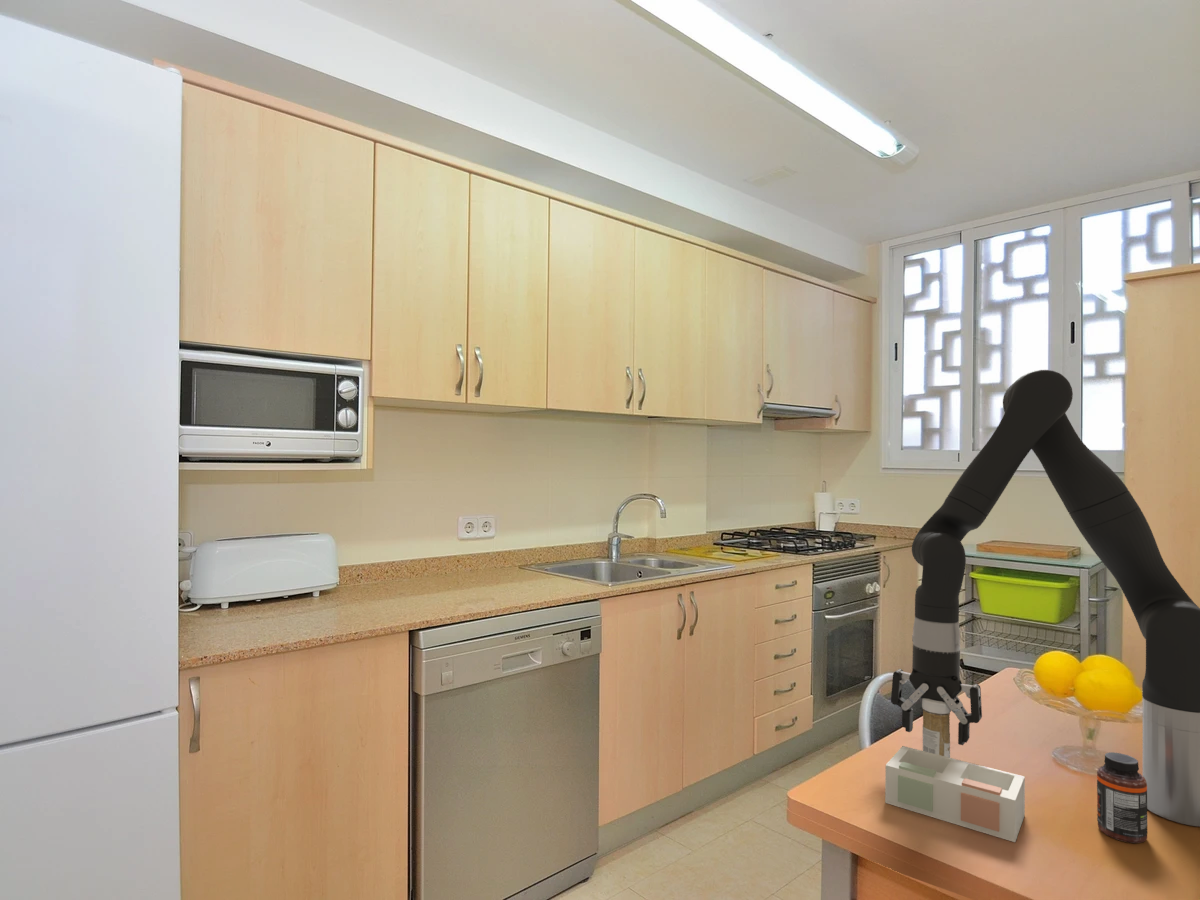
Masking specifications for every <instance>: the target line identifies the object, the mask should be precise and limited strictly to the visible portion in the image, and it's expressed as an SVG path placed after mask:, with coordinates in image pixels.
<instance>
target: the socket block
mask: <svg viewBox="0 0 1200 900" xmlns="http://www.w3.org/2000/svg"><path fill="white" fill-rule="evenodd" d="M1025 777H1026V776H1024V775H1020V774H1017V773H1013V772H1008V771H1005V770H1000V769H996V768H993V767H988V766H984V765H980V764H976V763H973V762H968V761H964V760H961V759H956V758H953V757H950V758H949V757H945V756H941V755H937V754H933V753H929V752H925V751H923V750H921V749H917V748H913V747H908V746H905V745H902V746H901V747H900V748H899V749H898V750H897V752H896V753H895V754H894V755H893V756H892V757H891V758H890V760H889V761H888V762H886V764H885V780H884V781H885V782H884V783H885V789H884V790H885V792H884V794H885V796H884V797H885V800H884V801H885V802H884V803H885V804H888V805H892V806H895V807H898V808H901V809H905V810H907V811H911V812H915V813H917V814H921V815H925V816H927V817H930V818H933V819H937V820H941V821H943V822H947V823H949V824H953V825H957V826H961V827H964V828H966V829H970V830H974V831H977V832H980V833H982V834H983V833H984V834H987V835H988V836H989V835H990V836H993V837H997V838H999V839H1003V840H1007V841H1010V842H1013V843H1016V841H1017V839H1018V835H1019V832H1020V830H1021V826H1022V825H1023V821H1024V818H1025V816H1026V815H1025V813H1026V812H1025V811H1026V809H1025V808H1026V807H1025V806H1026V804H1025V803H1026V802H1025V801H1026V795H1025V794H1026V791H1025V787H1026V786H1025V783H1026V780H1025Z"/></svg>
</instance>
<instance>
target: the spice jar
mask: <svg viewBox="0 0 1200 900" xmlns="http://www.w3.org/2000/svg"><path fill="white" fill-rule="evenodd" d="M921 708H922V751H925V752H929V753H933V754H937V755H941V756H945V757H949V758H951V732H950V727H951V726H950V725H951V724H950V723H951V722H950V715H951V712H952V711H951V709H950V708H949V707H948V705H947V704H946V702H942V701H936V700H931V699H926V698H923V699H921Z"/></svg>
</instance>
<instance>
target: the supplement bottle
mask: <svg viewBox="0 0 1200 900" xmlns="http://www.w3.org/2000/svg"><path fill="white" fill-rule="evenodd" d="M1103 763H1104V764H1103V765H1102V766H1100V767H1098V769H1097V772H1096V778H1097V779H1096V795H1097V796H1096V797H1097V798H1096V799H1097V801H1096V802H1097V805H1096V806H1097V807H1096V808H1097V809H1096V811H1097V813H1096V816H1097V818H1096V820H1097V826H1098V828H1099V830H1100V831H1101V832H1102V833H1103V834H1105V835H1107V836H1108V837H1110V838H1113V839H1115V840H1118V841H1121V842H1124V843H1129V844H1139V843H1144V842H1145V841H1147V839H1148V809H1147V782H1146V779H1145V778H1144V777H1143V774H1141V773H1139V770H1140V768H1139V766H1140V765H1139V760H1137V758H1135V757H1133V756H1131V755H1128V754H1124V753H1120V752H1114V751H1113V752H1111V751H1110V752H1106V753H1105V754H1104V762H1103Z"/></svg>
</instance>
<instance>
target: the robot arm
mask: <svg viewBox="0 0 1200 900" xmlns="http://www.w3.org/2000/svg"><path fill="white" fill-rule="evenodd" d="M1073 396H1074V394H1073V387H1072V385H1071V382H1070V381H1069V380H1068V378H1067V377H1065V376H1064V375H1063V374H1061V373H1060V372H1058V371H1055V370H1052V369H1037V370H1034V371H1033V370H1032V371H1030V372H1027V373H1024V374H1023V375H1022V376H1020V377H1019V378H1018V379H1017V380H1015V382H1013V383H1012V384H1011V385H1010V386H1009V387H1008V388H1007V389H1006V391H1005V392H1004V394H1003V397H1002V408H1003V411H1004V414H1003V416H1002V418H1001V420H1000V422H999V423H998V425H997V427H996V428H995V430H994V432H993V434H992V435H991V436H990V438H989V439H988V441H987V442H986V443H985V444H984V446H983V447H982V448H981V450H980V451H979V452H978V453H977V455H976V456H975V457H974V458H973V459H972V460H971V462H970V464H969V465H968V466H967V467H966V468H965V470H964V471H963V473H962V474H961V475H960V476H959V477H958V479H957V481H956V482H955V484H954V485H953V487H952V488H951V490H950V492H949V493H948V494H947V497H945V499H944V501H943V503H942V505H941V506H940V507H939V508H938V509H937V510H936V511H935V512H934V513H933V514H932V516H930V518H928V520H927V521H926V522H925V523H924V524H923V525H922V527H921V528H920V529H919V530H918V532H917V533H916V535H915V536H914V538H913V541H912V544H911V553H912V557H913V559H914V561H915V562H916V563H917V564H918V565H920V566H922V576H921V584H920V585H919V586H918V587H917V588H916V589H915V597H914V620H913V627H912V635H911V636H912V637H911V639H912V660H911V661H912V667H911V668H912V670H911V672H906V671H904V670H903V669H901V668H898V669H896V670H895V671H894V672H893V674H892V683H891V694H890V698H891V699H890V703H891V704H892V705H894V706H895V705H896V706H898V707H899V708H900V709H901V714H902V715H901V725H902V727H903V728H904V729H905V732H907V733H911V732H912V731H913V728H914V709H913V708H912V706H913V705H914V704H915V703H917V701H918V700H919V699H921V700H922V699H923V698H926V699H931V700H936V701H942V702H946V704H947V705H948V707H949V708H950V709H951V712H952V713H953V714H954V715H955V716H956V718H957V719H958V720H959V722H958V733H957V734H958V735H957V737H958V738H957V743H958V745H959V746H964V744H967V743H968V742H969V739H970V733H971V732H970V730H971V729H970V724H972V723H974V724H978V723H979V722H980V721H981V719H982V717H983V710H982V691H981V689H982V688H981V685H980V684H978V683H974V684H966V683H965V684H964V683H962V680H961V677H960V675H961V630H960V592H961V589H962V587H963V582H964V576H965V572H966V563H967V558H966V551H965V547H964V545H963V544H962V541H963V539H964V538H965V537H966V535H968V534H969V532H971V531H974V530H977V529H978V528H979V527H981V525H982V524H983V523H984V522H985V520H987V517H988V516H989V514H990V513H991V511H992V510H993V508H994V506H995V505H996V503H997V502H998V500H999V499H1000V497H1001V496H1002V494H1003V493H1004V492H1005V489H1006V488H1007V486H1008V484H1009V483H1010V481H1011V480H1012V478H1013V477H1014V474H1015V473H1016V472H1017V471H1018V469H1019V468H1020V466H1021V464H1022V462H1024V460H1025V458H1026V457H1027V456H1028V454H1029V453H1030V452H1031V450H1032V452H1033V453H1034V455H1035V456H1036V457H1037V459H1038V460H1039V462H1040V464H1041V466H1042V468H1043V470H1044V471H1045V473H1046V476H1047V478H1048V479H1049V481H1050V483H1051V484H1052V486H1053V488H1054V489H1055V492H1056V493H1057V495H1058V497H1059V498H1060V500H1061V501H1062V504H1063V506H1064V507H1065V509H1066V512H1067V513H1068V515H1069V516H1070V518H1071V519H1072V521H1073V522H1074V525H1075V526H1076V528H1077V529H1078V531H1079V533H1080V535H1082V537H1083V538H1084V540H1085V542H1087V544H1088V545H1089V546H1090V548H1091V549H1092V551H1093V552H1094V554H1095V555H1096V556H1097V557H1098V558H1099V560H1100V561H1101V562H1102V564H1103V565H1104V566H1105V567H1106V568H1107V570H1108V571H1109V572H1110V573H1111V575H1112V576H1113V578H1114V579H1115V581H1116V582H1117V584H1118V585H1119V588H1120V589H1121V591H1122V592H1123V593H1122V594H1123V595H1124V597H1125V599H1126V601H1127V603H1128V605H1129V607H1130V610H1131V611H1132V614H1133V617H1134V618H1135V621H1136V623H1137V625H1138V628H1139V630H1140V632H1141V635H1142V637H1143V638H1144V639H1145V672H1144V678H1143V680H1142V686H1141V687H1142V690H1141V691H1142V692H1141V693H1142V776H1143V777H1144V778H1145V779H1146V782H1147V811H1150V812H1151V813H1153V814H1155V815H1157V816H1159V817H1162V818H1163V819H1166V820H1169V821H1172V822H1176V823H1178V824H1182V825H1187V826H1193V827H1200V606H1198V604H1196V603H1195V602H1194V601H1193V600H1192V598H1191V597H1190V596H1189V594H1188V593H1187V592H1186V591H1185V589H1184V588H1183V587H1182V586H1181V584H1180V583H1179V582H1178V580H1177V579H1176V578H1175V576H1174V575H1173V574H1172V572H1171V571H1170V569H1169V568H1168V566H1167V565H1166V564H1167V563H1165V561H1164V559H1163V556H1162V554H1161V552H1160V549H1159V547H1158V544H1157V541H1156V538H1155V536H1154V534H1153V531H1152V529H1151V526H1150V524H1149V523H1148V521H1147V518H1146V516H1145V515H1144V513H1143V511H1142V510H1141V507H1140V506H1139V504H1138V503H1137V501H1136V499H1135V498H1134V496H1133V495H1132V493H1131V492H1130V490H1129V488H1128V487H1127V486H1126V484H1125V482H1123V481H1122V479H1121V478H1120V477H1119V476H1118V474H1116V473H1115V471H1113V470H1112V469H1111V467H1110V466H1109V465H1107V463H1105V462H1104V461H1103V460H1102V459H1101V458H1099V456H1097V455H1096V454H1095V453H1094V452H1093V451H1091V449H1090V448H1088V447H1087V446H1086V444H1085V443H1084V442H1083V441H1082V439H1081V438H1080V436H1079V435H1078V433H1077V432H1076V430H1075V428H1074V427H1073V425H1072V423H1071V421H1070V420H1069V417H1068V415H1067V413H1066V412H1067V411H1068V410H1069V408H1070V407H1071V405H1072V401H1073ZM908 680H909V682H910V684H911V685H912V686H913V689H914V692H913V693H912V694H910V696H909V697H908V698H907V699H905V698H904V697H903V685H904V684H906V683H907V682H908ZM961 692H964V693H965V696H966V697H967V698H968V699H969V700H970V713H968V711H967V710H966V708H965V706H964V705H963V702H962V701H961V700H960V698H959V696H958V695H959V694H960V693H961Z"/></svg>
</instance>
